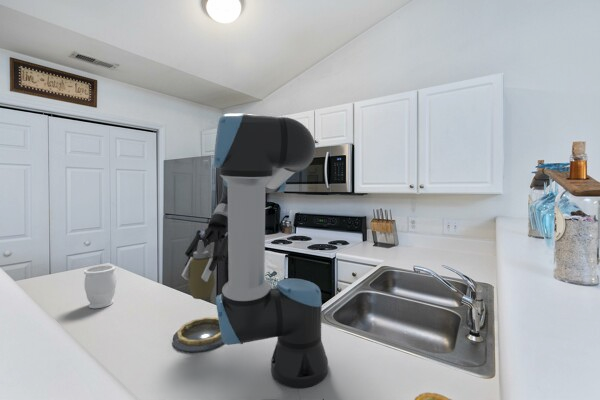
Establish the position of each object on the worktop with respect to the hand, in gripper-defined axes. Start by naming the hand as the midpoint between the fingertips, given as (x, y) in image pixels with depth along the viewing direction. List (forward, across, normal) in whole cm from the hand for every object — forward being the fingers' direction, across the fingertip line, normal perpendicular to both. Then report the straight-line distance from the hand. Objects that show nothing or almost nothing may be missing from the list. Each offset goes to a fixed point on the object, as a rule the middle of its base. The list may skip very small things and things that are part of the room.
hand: (194, 278), depth 87 cm
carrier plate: (+12, 0, -17) cm, 21 cm away
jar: (+6, +55, -23) cm, 60 cm away
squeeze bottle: (+2, 0, -8) cm, 8 cm away
